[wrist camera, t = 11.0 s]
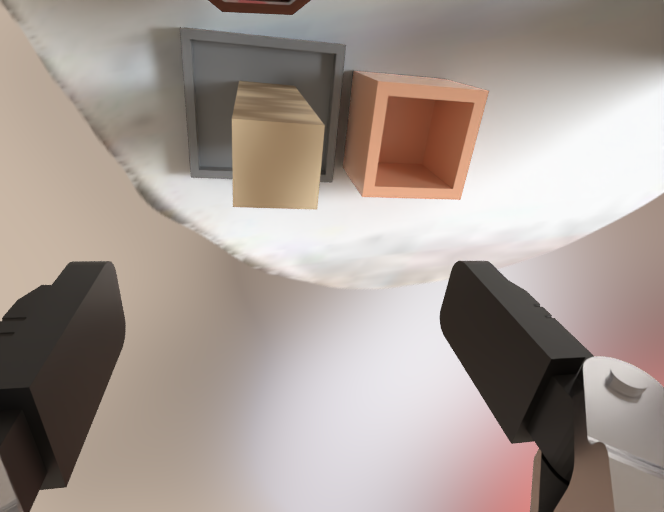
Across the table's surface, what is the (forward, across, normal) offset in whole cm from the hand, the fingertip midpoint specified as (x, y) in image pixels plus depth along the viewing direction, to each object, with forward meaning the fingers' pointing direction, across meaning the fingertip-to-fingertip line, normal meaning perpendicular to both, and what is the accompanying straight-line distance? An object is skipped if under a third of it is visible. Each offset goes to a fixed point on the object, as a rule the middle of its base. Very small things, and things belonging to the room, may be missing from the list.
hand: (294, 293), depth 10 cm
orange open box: (+25, -10, 0) cm, 27 cm away
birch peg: (+24, 0, 0) cm, 24 cm away
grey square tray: (+25, 0, 0) cm, 25 cm away
